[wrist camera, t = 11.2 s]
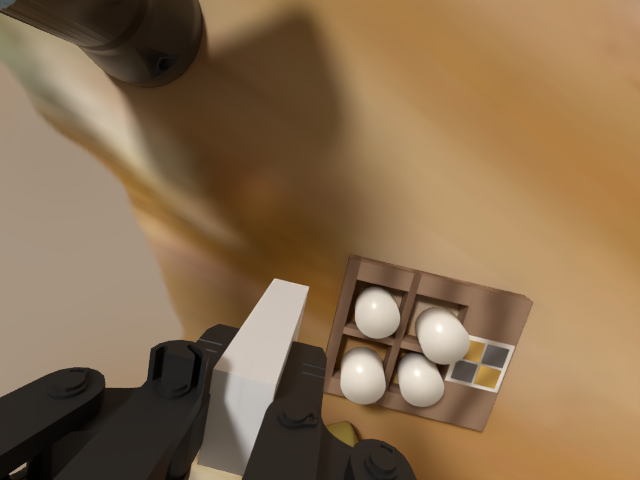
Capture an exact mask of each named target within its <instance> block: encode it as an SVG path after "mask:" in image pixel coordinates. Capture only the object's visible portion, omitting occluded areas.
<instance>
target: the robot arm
mask: <svg viewBox="0 0 640 480" xmlns="http://www.w3.org/2000/svg"><path fill="white" fill-rule="evenodd" d="M0 13H2V14H5V15H7V16H9V17H12V18H14V19H17V20H19V21H21V22H24V23H26V24H28V25H31V26H33V27H35V28H38V29H40V30H43V31H45V32H47V33H50V34H52V35H54V36H57V37H59V38H62V39H64V40H66V41H69V42H71V43H73V44H76V45H77V46H78V47H79V48H80V49H81V50H82V51H83V52H84V53H85V54H86V55H87V56H88V57H90V58H91V59H92V60H93V61H94V62H95V63H96V64H97V65H98V66H99V67H100V68H101V69H102V70H103V71H105V72H106V73H108V74H109V75H111V76H113V77H115V78H116V79H119V80H121V81H124V82H126V83H129V84H132V85H135V86H140V87H157V86H162V85H165V84H167V83H170V82H172V81H173V80H175V79H177V78H178V77H179V76H180V75H182V74H183V73H184V72H185V71H186V69H187V68H188V67H189V66H190V64H191V63H192V61H193V59H194V57H195V55H196V53H197V50H198V48H199V44H200V40H201V32H202V19H201V11H200V7H199V3H198V0H0ZM308 290H309V287H308V286H304V285H300V284H296V283H292V282H288V281H283V280H279V279H275V278H274V280H273V281H272V283H271V284H270V286H269V287H268V289H267V290H266V292H265V293H264V294H263V296H262V297H261V299H260V300H259V302H258V303H257V305H256V306H255V308H254V309H253V311H252V312H251V314H250V315H249V317H248V318H247V320H246V321H245V323H244V324H243V325H242V327H241V328H240V329H238V328H234V327H230V326H226V325H222V324H218V325H216V326H214V327H212V328H209V329H207V330H206V331H205V333H204V334H203V335H202V336H201V337H200V339H199V340H198V341H197V342H196V343H195V342H192V341H185V340H173V341H167V342H164V343H160V344H158V345H156V346H155V347H153V348H151V352H150V360H149V368H148V377H147V381H146V382H145V383H144V384H143V385H142V386H141V387H138V388H105V378H104V375H102V374H101V373H100V372H99V371H97V370H94V369H90V368H81V367H74V368H68V369H62V370H58V371H56V372H53V373H50V374H48V375H46V376H44V377H41V378H39V379H37V380H35V381H33V382H31V383H29V384H27V385H25V386H23V387H21V388H19V389H17V390H15V391H13V392H11V393H9V394H7V395H4V396H2V397H1V398H0V480H188V479H189V476H190V470H191V464H192V462H193V460H194V458H195V457H196V455H197V453H198V451H199V449H200V451H199V457H198V463H197V464H199V465H203V466H207V467H211V468H214V469H218V470H222V471H226V472H230V473H233V474H237V475H241V476H243V478H242V480H417V479H416V477H415V475H414V472H413V470H412V468H411V466H410V464H409V463H408V461H407V460H406V458H405V457H404V455H402V454H401V453H400V452H399V451H398V450H397V449H396V448H395V447H393V446H391V445H389V444H387V443H386V442H384V441H380V440H375V439H366V440H361V441H360V442H358V443H356V444H355V445H354V447H351V446H350V445H348V444H346V443H344V442H342V441H341V440H339V439H338V438H336V437H335V436H334V435H333V434H332V433H331V432H330V431H328V429H327V428H326V426H325V425H324V423H323V420H322V418H321V406H322V398H323V390H324V381H325V373H326V364H327V357H326V355H325V353H324V351H323V349H322V348H320V347H316V346H312V345H308V344H304V343H300V342H297V339H298V334H299V330H300V326H301V321H302V317H303V312H304V308H305V303H306V299H307V295H308ZM24 463H27V464H26V467H25V468H23V469H22V470H20V471H18V472H16V473H14V474H12V475H9V473H11V472H12V471H14V470H15V469H17V468H18V467H20V466H21V465H23V464H24Z"/></svg>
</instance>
